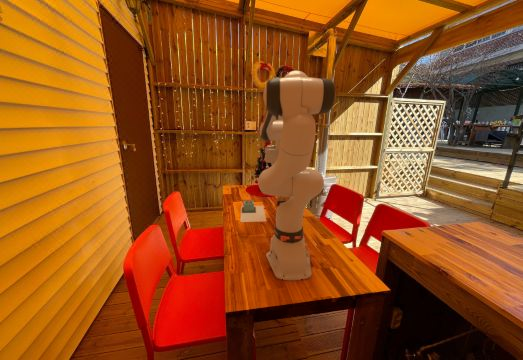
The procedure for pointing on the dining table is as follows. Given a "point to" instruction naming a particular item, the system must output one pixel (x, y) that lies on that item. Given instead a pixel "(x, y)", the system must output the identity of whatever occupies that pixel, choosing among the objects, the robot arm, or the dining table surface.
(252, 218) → the post board
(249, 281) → the dining table surface
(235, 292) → the dining table surface
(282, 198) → the ammunition clip
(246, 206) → the collar
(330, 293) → the dining table surface
